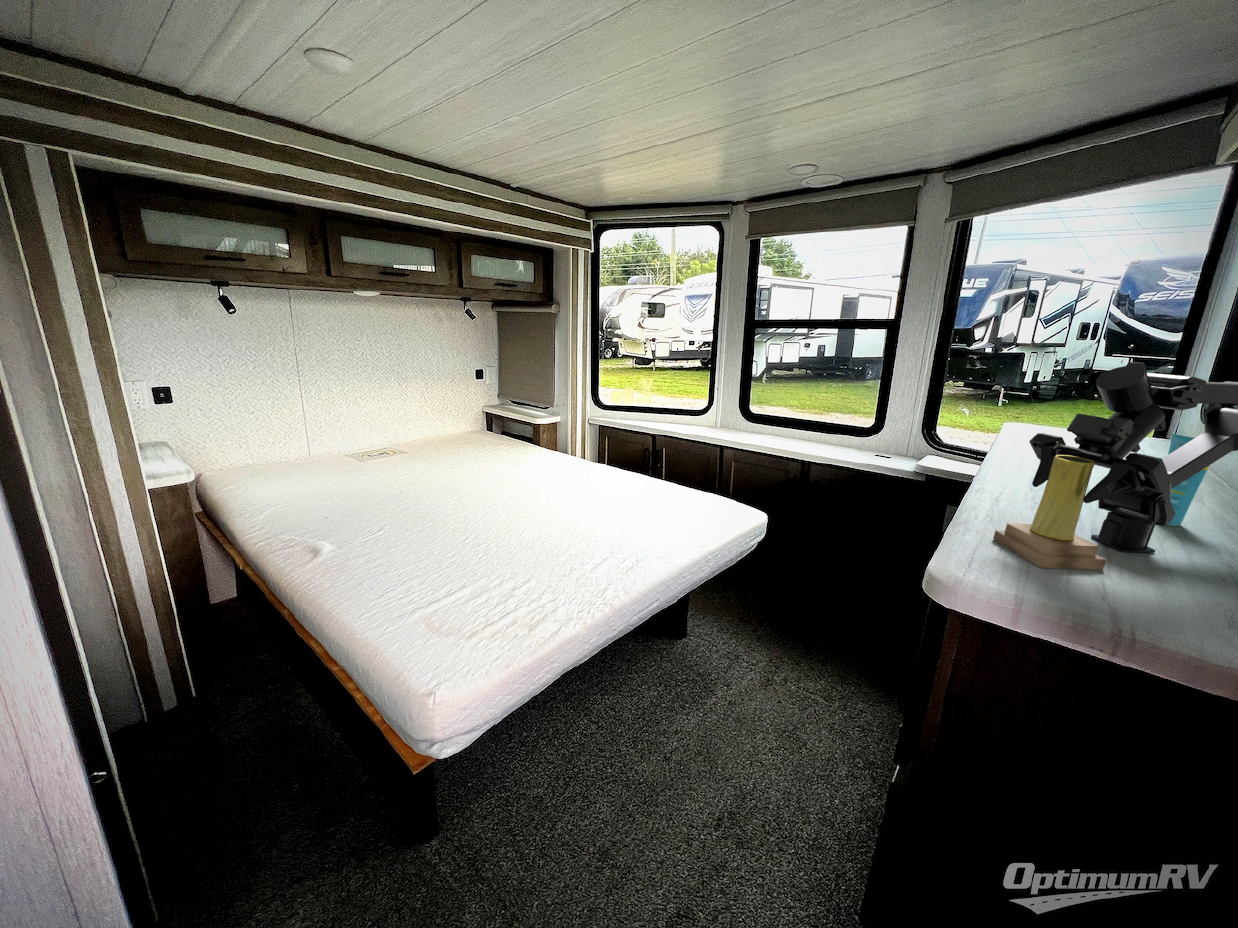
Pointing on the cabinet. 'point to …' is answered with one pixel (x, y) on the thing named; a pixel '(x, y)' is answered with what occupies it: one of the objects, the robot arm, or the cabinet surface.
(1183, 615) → the cabinet surface
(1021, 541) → the pedestal
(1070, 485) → the vase
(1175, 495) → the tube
